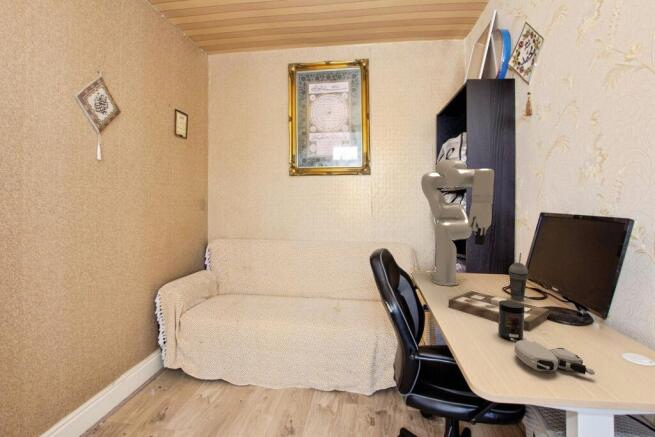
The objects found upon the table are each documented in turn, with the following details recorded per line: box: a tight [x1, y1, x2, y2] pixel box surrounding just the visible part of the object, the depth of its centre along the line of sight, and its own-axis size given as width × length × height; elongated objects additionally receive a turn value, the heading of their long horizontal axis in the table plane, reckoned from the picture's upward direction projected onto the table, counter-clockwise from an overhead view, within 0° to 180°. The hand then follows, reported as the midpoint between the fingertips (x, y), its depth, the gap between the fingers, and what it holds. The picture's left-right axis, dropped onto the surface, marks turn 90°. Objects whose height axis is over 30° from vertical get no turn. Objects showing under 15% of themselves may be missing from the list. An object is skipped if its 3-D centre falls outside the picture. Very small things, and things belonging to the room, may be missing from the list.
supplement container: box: [497, 299, 525, 342], centre depth 94 cm, size 7×7×10 cm
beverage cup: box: [507, 252, 529, 302], centre depth 129 cm, size 7×7×20 cm
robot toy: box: [510, 338, 595, 376], centre depth 78 cm, size 12×4×15 cm
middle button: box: [491, 296, 508, 305], centre depth 116 cm, size 4×4×2 cm
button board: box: [448, 290, 550, 332], centre depth 115 cm, size 28×18×3 cm, turn 38°
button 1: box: [470, 295, 485, 301], centre depth 122 cm, size 4×4×2 cm
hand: (479, 244), depth 126 cm, fingers closed
